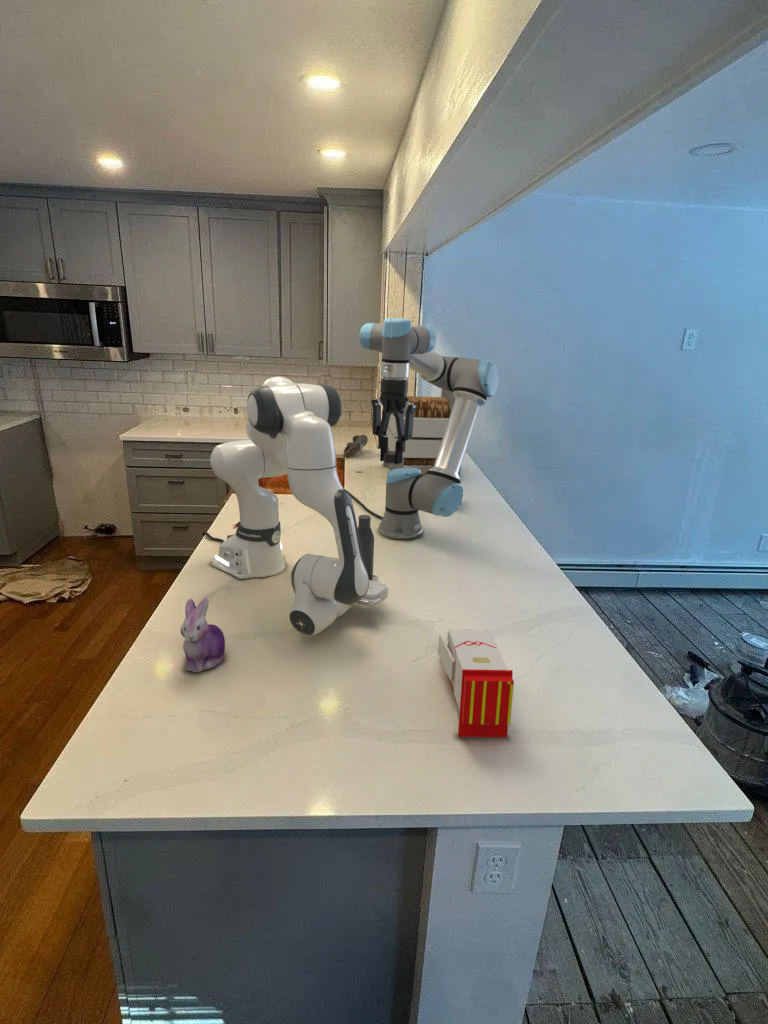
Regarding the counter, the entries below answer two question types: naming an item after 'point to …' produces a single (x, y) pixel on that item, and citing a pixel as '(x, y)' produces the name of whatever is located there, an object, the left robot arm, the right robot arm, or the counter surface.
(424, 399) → the white wooden crate
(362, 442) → the grey lumpy piece
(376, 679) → the counter surface
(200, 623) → the figurine
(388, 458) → the cap
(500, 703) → the toy
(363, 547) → the bottle
